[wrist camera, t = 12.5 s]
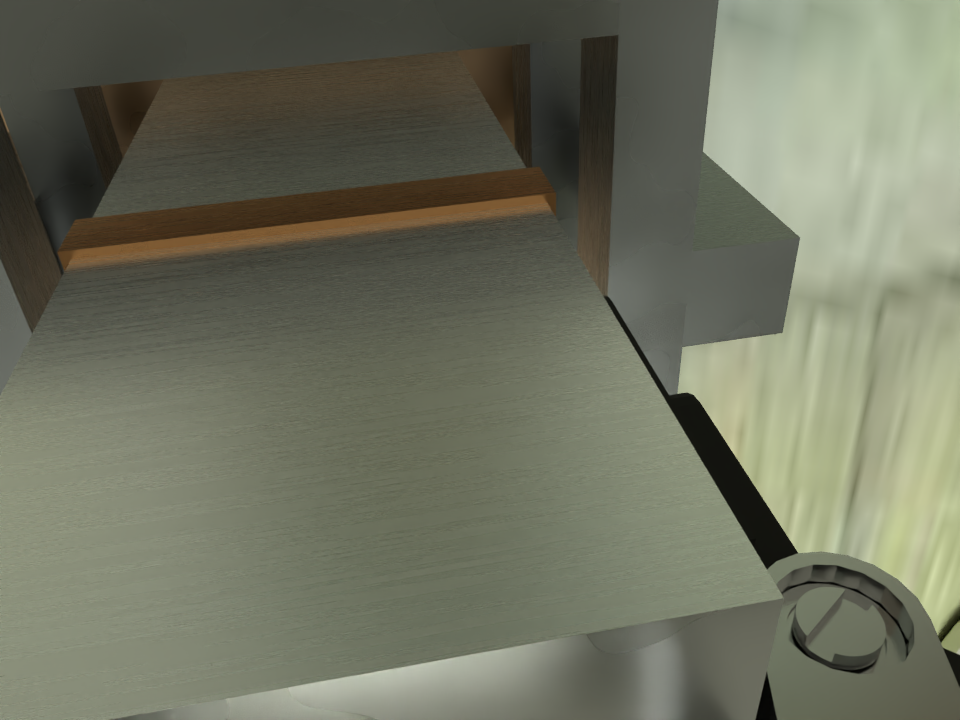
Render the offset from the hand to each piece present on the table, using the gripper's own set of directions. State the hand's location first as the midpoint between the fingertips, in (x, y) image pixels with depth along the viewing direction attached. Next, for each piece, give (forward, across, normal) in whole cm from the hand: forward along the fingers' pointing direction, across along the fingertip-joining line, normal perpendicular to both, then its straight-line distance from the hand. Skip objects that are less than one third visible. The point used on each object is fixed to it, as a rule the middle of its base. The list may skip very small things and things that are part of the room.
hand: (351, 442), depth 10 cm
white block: (+11, 0, 0) cm, 11 cm away
